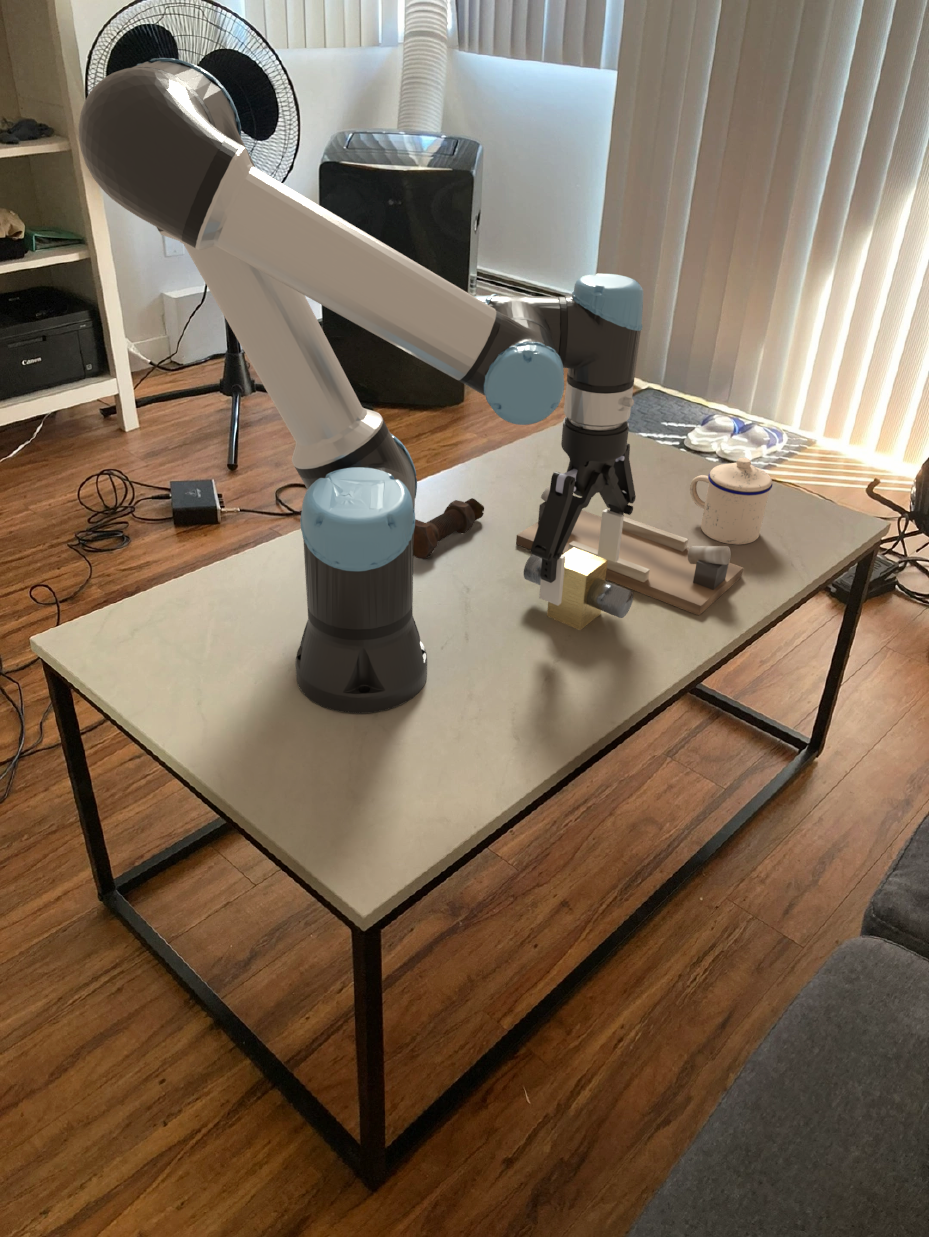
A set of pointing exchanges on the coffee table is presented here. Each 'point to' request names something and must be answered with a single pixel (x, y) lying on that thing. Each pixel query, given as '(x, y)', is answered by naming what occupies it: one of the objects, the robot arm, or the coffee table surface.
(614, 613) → the universal joint
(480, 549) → the coffee table surface
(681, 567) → the coupling cradle
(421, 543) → the bolt
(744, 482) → the teacup with lid
